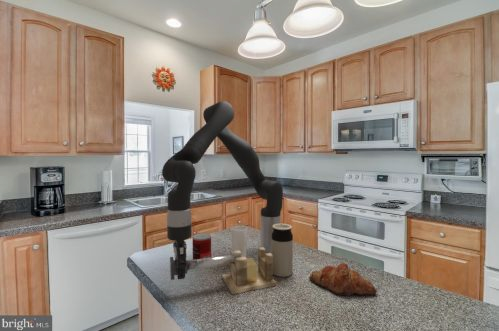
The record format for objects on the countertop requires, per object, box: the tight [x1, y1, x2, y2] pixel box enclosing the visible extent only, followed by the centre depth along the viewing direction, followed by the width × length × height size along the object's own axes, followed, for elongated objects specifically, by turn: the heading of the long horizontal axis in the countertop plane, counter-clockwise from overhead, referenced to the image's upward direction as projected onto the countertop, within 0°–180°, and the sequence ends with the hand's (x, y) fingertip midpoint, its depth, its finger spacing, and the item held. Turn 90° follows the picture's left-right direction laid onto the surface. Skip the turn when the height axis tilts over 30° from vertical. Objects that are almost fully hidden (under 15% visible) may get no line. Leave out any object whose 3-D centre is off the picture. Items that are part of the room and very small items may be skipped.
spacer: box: [246, 257, 258, 283], centre depth 90 cm, size 4×6×6 cm, turn 20°
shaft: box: [169, 253, 240, 281], centre depth 84 cm, size 23×6×5 cm, turn 110°
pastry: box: [308, 262, 378, 296], centre depth 86 cm, size 17×15×8 cm
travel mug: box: [272, 223, 294, 278], centre depth 96 cm, size 8×8×18 cm
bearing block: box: [221, 246, 277, 295], centre depth 89 cm, size 16×12×10 cm
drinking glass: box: [230, 225, 248, 258], centre depth 104 cm, size 7×7×15 cm
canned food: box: [192, 232, 212, 260], centre depth 107 cm, size 8×8×11 cm
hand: (180, 272), depth 81 cm, fingers open, 8 cm apart
